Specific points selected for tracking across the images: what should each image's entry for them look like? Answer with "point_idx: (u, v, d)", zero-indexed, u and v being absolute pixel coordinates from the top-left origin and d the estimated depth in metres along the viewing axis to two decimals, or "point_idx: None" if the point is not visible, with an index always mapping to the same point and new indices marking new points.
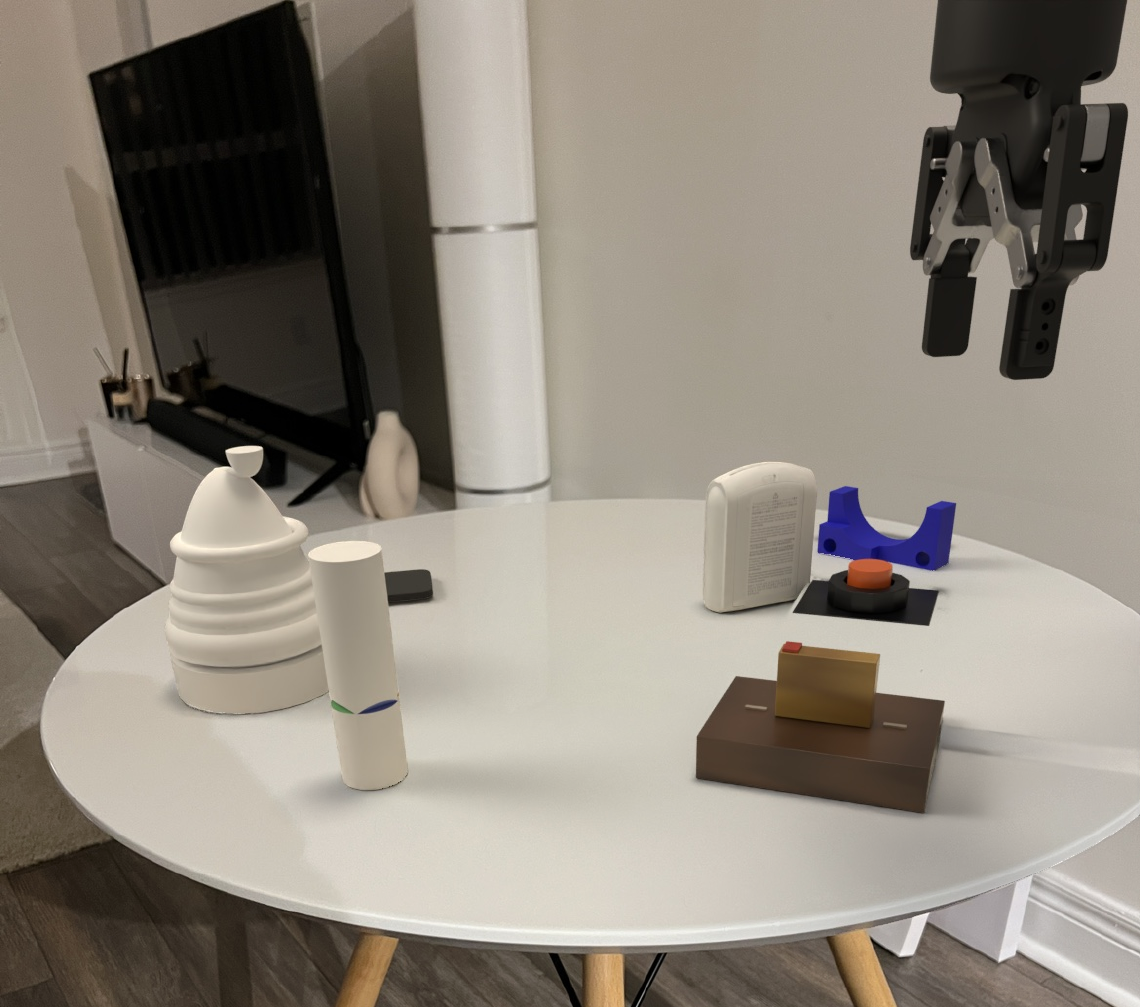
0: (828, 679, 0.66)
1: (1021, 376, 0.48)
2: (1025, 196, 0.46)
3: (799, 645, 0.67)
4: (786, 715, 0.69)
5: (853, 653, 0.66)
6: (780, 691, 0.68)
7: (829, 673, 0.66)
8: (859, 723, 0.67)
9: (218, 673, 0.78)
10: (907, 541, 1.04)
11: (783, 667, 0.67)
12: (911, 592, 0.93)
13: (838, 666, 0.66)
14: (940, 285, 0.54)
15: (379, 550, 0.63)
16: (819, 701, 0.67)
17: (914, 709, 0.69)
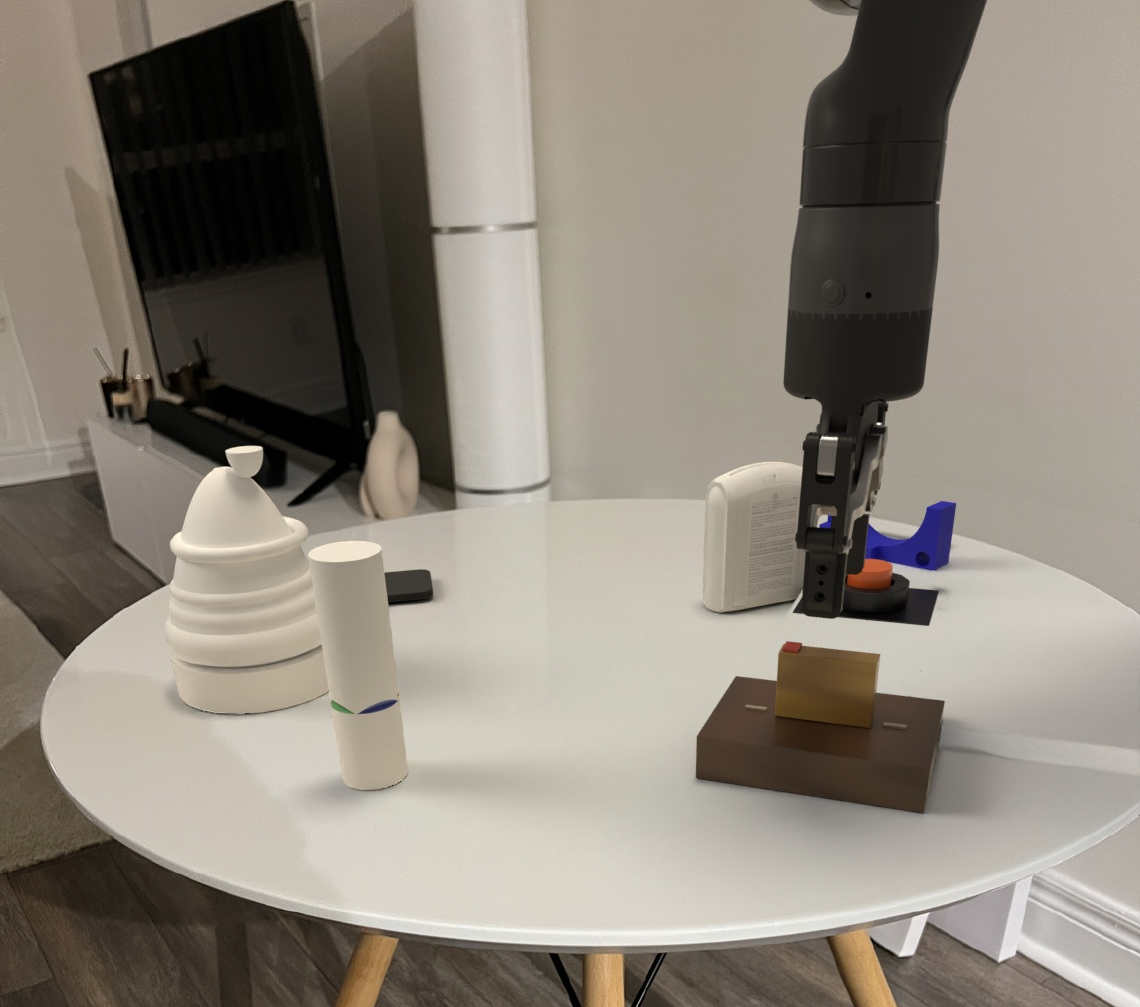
0: (828, 679, 0.66)
1: (814, 614, 0.61)
2: (829, 481, 0.59)
3: (799, 645, 0.67)
4: (786, 715, 0.69)
5: (853, 653, 0.66)
6: (780, 691, 0.68)
7: (829, 673, 0.66)
8: (859, 723, 0.67)
9: (218, 673, 0.78)
10: (907, 541, 1.04)
11: (783, 667, 0.67)
12: (911, 592, 0.93)
13: (838, 666, 0.66)
14: None
15: (379, 550, 0.63)
16: (819, 701, 0.67)
17: (914, 709, 0.69)
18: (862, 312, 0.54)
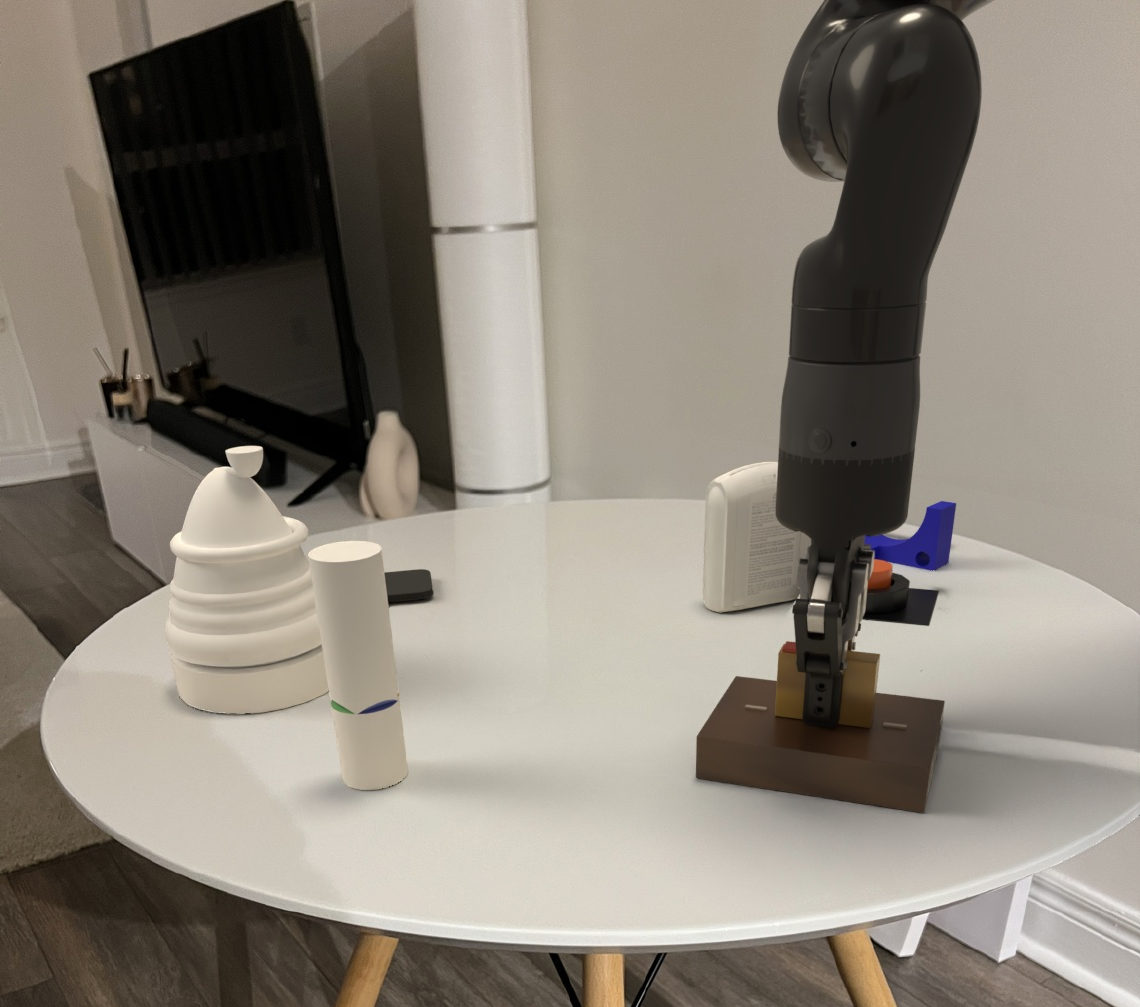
0: None
1: (814, 724, 0.67)
2: None
3: None
4: (786, 715, 0.69)
5: (853, 653, 0.66)
6: (780, 691, 0.68)
7: None
8: (859, 723, 0.67)
9: (218, 673, 0.78)
10: (907, 541, 1.04)
11: (783, 667, 0.67)
12: (911, 592, 0.93)
13: None
14: None
15: (379, 550, 0.63)
16: None
17: (914, 709, 0.69)
18: (848, 459, 0.57)
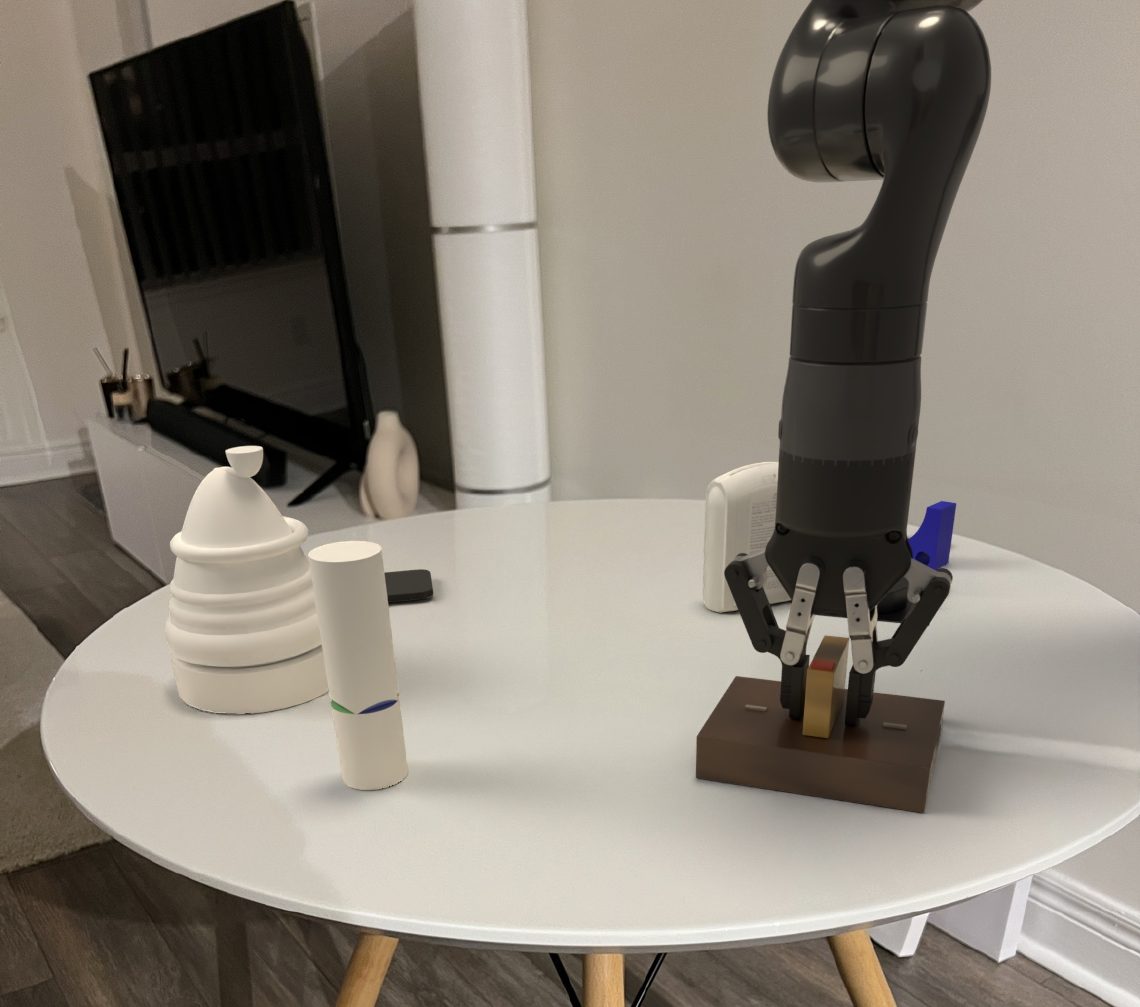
0: (840, 674, 0.67)
1: (856, 721, 0.67)
2: None
3: (821, 660, 0.65)
4: (830, 731, 0.66)
5: (828, 644, 0.68)
6: (831, 710, 0.65)
7: (841, 668, 0.67)
8: (842, 700, 0.70)
9: (218, 673, 0.78)
10: None
11: (833, 685, 0.65)
12: None
13: (843, 657, 0.67)
14: (803, 670, 0.67)
15: (379, 550, 0.63)
16: (837, 699, 0.67)
17: (914, 709, 0.69)
18: None
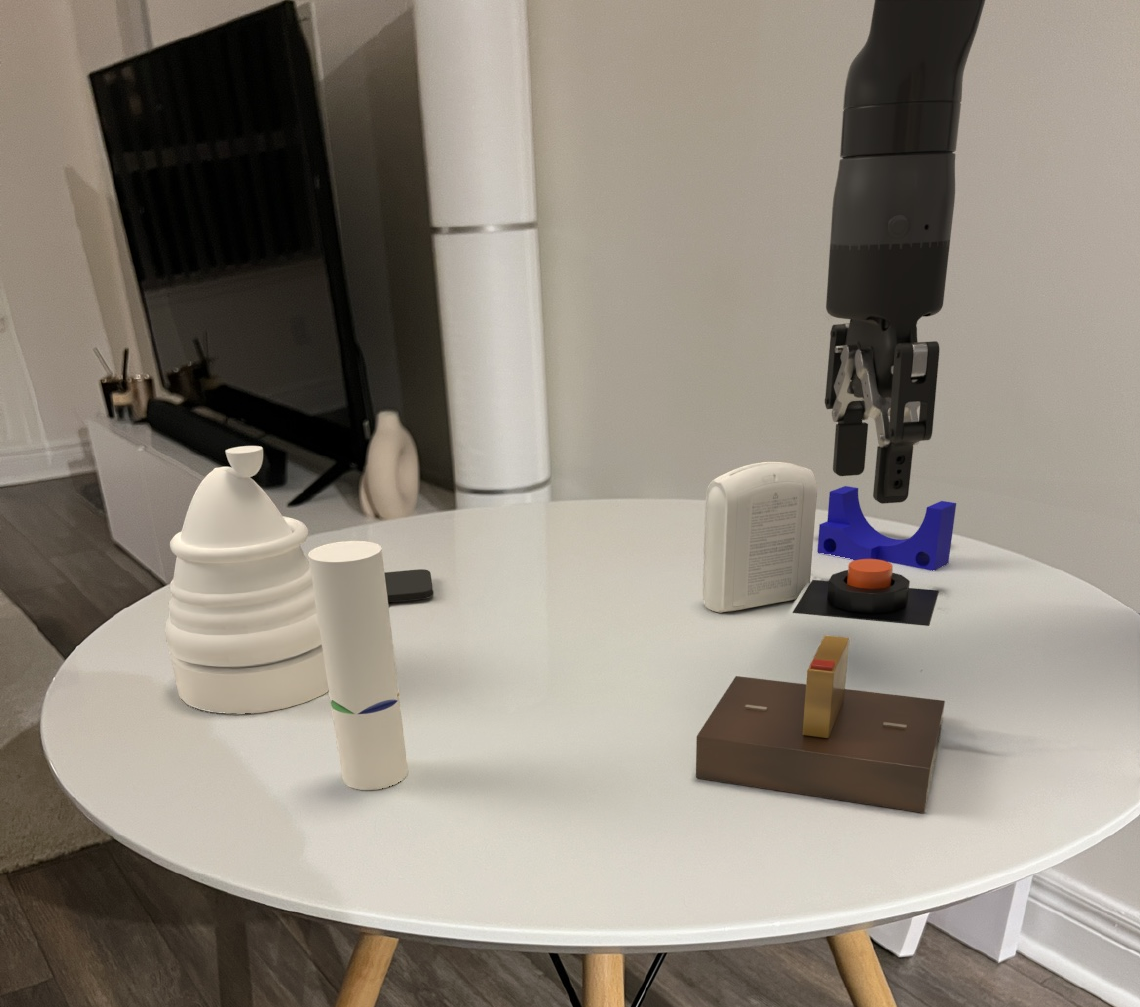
0: (840, 674, 0.67)
1: (887, 501, 0.73)
2: (886, 387, 0.71)
3: (821, 660, 0.65)
4: (830, 731, 0.66)
5: (828, 644, 0.68)
6: (831, 710, 0.65)
7: (841, 668, 0.67)
8: (842, 700, 0.70)
9: (218, 673, 0.78)
10: (907, 541, 1.04)
11: (833, 685, 0.65)
12: (911, 592, 0.93)
13: (843, 657, 0.67)
14: (843, 429, 0.79)
15: (379, 550, 0.63)
16: (837, 699, 0.67)
17: (914, 709, 0.69)
18: (922, 241, 0.66)
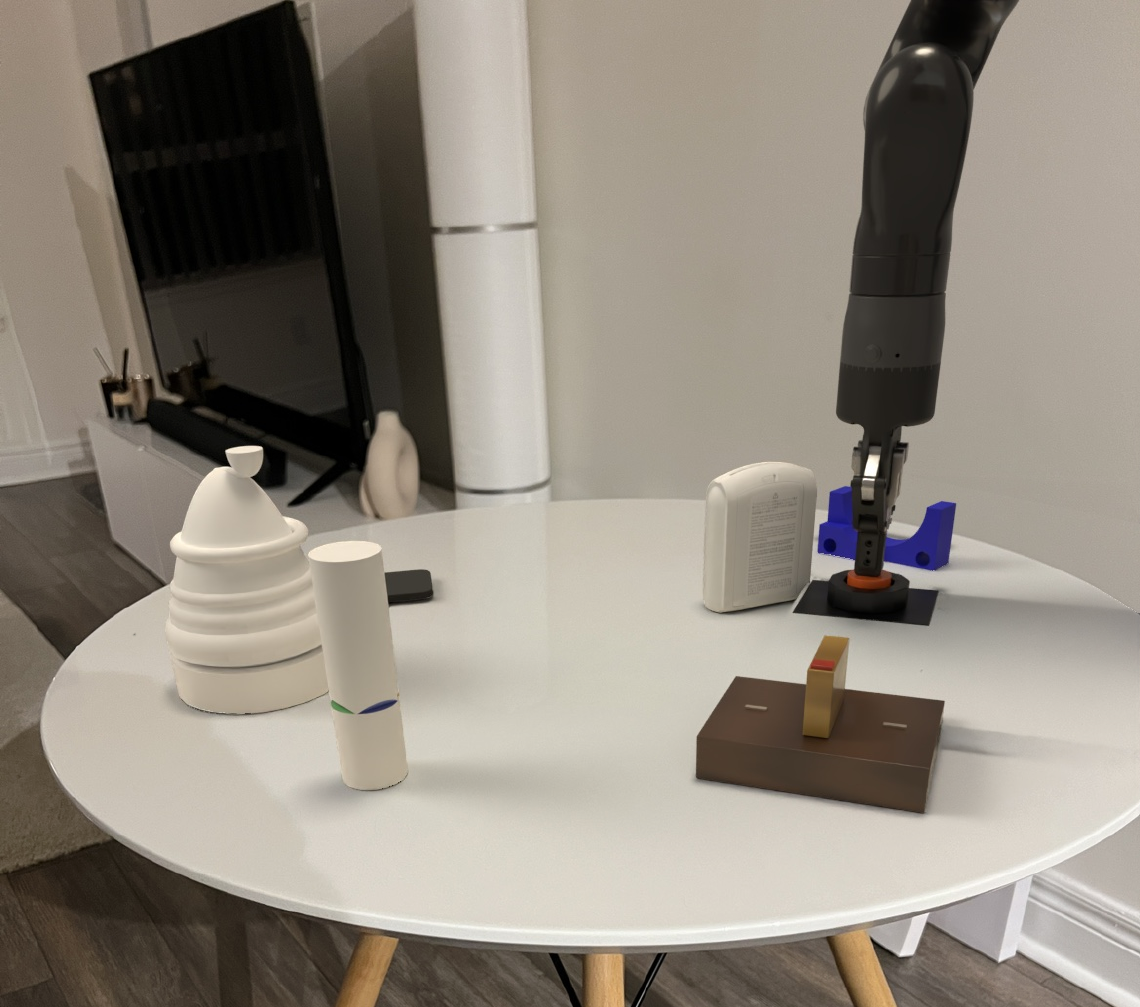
0: (840, 674, 0.67)
1: (862, 574, 0.90)
2: None
3: (821, 660, 0.65)
4: (830, 731, 0.66)
5: (828, 644, 0.68)
6: (831, 710, 0.65)
7: (841, 668, 0.67)
8: (842, 700, 0.70)
9: (218, 673, 0.78)
10: (907, 541, 1.04)
11: (833, 685, 0.65)
12: (911, 592, 0.93)
13: (843, 657, 0.67)
14: None
15: (379, 550, 0.63)
16: (837, 699, 0.67)
17: (914, 709, 0.69)
18: (893, 366, 0.79)
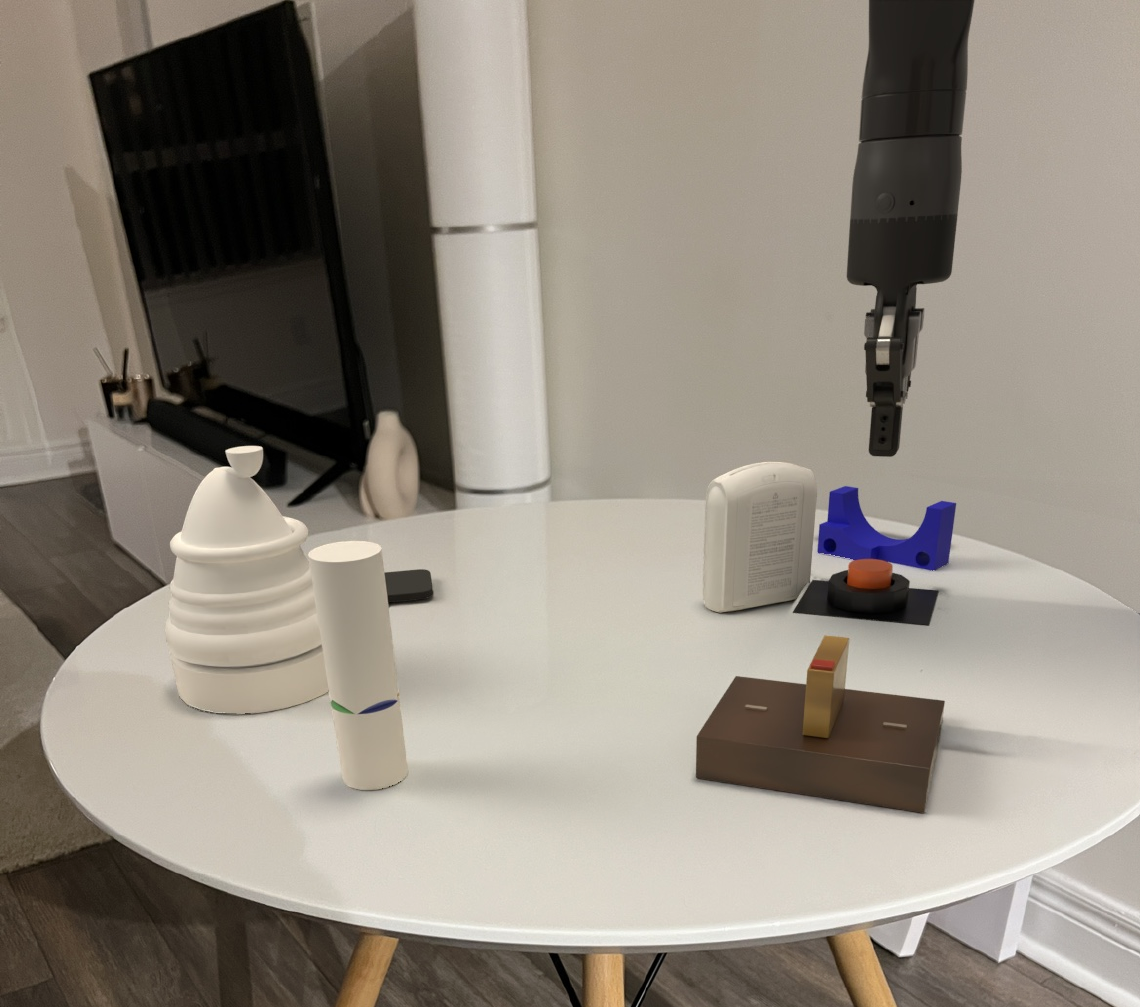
0: (840, 674, 0.67)
1: (878, 454, 0.85)
2: None
3: (821, 660, 0.65)
4: (830, 731, 0.66)
5: (828, 644, 0.68)
6: (831, 710, 0.65)
7: (841, 668, 0.67)
8: (842, 700, 0.70)
9: (218, 673, 0.78)
10: (907, 541, 1.04)
11: (833, 685, 0.65)
12: (911, 592, 0.93)
13: (843, 657, 0.67)
14: None
15: (379, 550, 0.63)
16: (837, 699, 0.67)
17: (914, 709, 0.69)
18: (907, 216, 0.75)
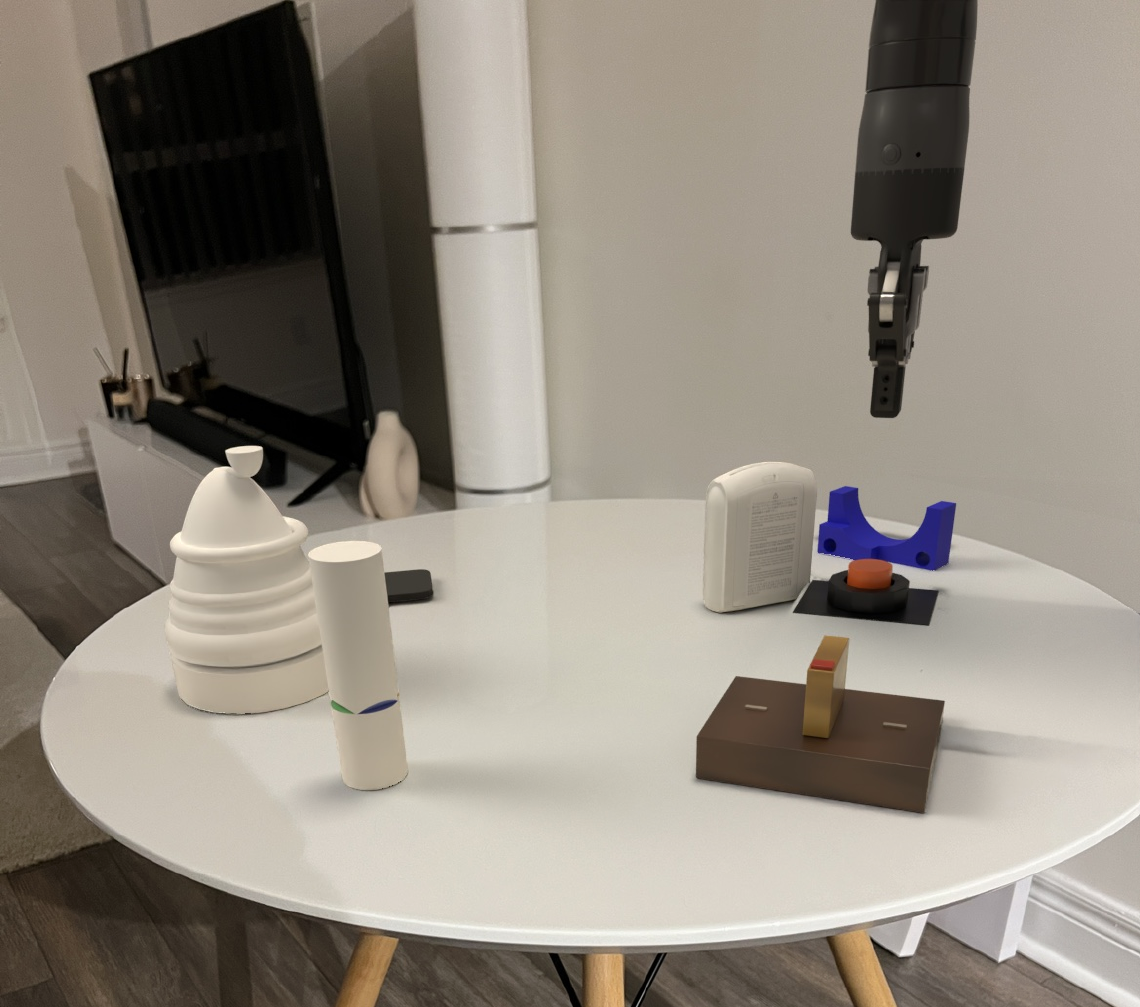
0: (840, 674, 0.67)
1: (879, 416, 0.84)
2: None
3: (821, 660, 0.65)
4: (830, 731, 0.66)
5: (828, 644, 0.68)
6: (831, 710, 0.65)
7: (841, 668, 0.67)
8: (842, 700, 0.70)
9: (218, 673, 0.78)
10: (907, 541, 1.04)
11: (833, 685, 0.65)
12: (911, 592, 0.93)
13: (843, 657, 0.67)
14: None
15: (379, 550, 0.63)
16: (837, 699, 0.67)
17: (914, 709, 0.69)
18: (913, 168, 0.73)
